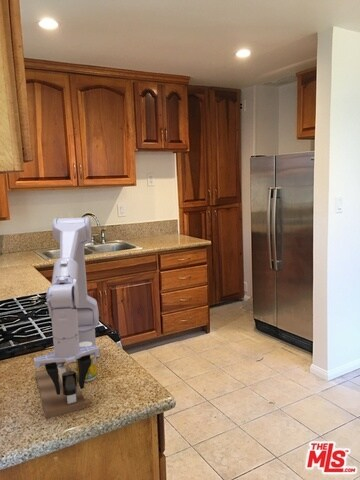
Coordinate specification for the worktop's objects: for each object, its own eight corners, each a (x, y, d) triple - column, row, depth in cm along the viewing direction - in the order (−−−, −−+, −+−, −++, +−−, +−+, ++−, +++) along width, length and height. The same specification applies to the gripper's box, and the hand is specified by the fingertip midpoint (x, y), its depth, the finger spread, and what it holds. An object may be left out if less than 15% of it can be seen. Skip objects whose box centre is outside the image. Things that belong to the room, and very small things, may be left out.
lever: (51, 368, 109) (49, 346, 108) (64, 365, 110) (63, 343, 109) (64, 405, 91) (62, 378, 90) (79, 401, 92) (78, 375, 91)
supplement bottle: (100, 373, 109) (98, 340, 108) (92, 383, 104) (90, 348, 102) (81, 372, 110) (79, 339, 109) (73, 381, 105) (71, 347, 103)
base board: (35, 376, 108) (35, 371, 108) (68, 369, 112) (68, 364, 112) (45, 418, 89) (45, 412, 88) (85, 407, 92) (85, 401, 92)
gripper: (34, 347, 84) (39, 406, 86) (101, 334, 90) (104, 389, 92) (31, 336, 90) (36, 391, 92) (93, 324, 96) (97, 376, 98)
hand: (70, 389), depth 92 cm, fingers open, 5 cm apart
